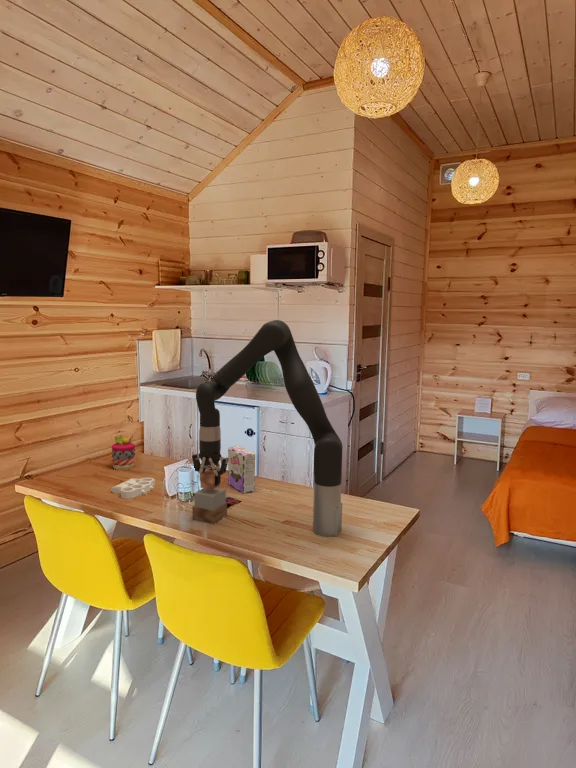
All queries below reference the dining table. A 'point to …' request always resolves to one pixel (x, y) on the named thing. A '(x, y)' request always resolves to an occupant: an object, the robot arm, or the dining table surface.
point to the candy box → (241, 469)
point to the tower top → (210, 498)
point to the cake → (123, 454)
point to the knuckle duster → (134, 487)
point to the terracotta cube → (208, 480)
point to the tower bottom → (209, 514)
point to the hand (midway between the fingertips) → (210, 483)
